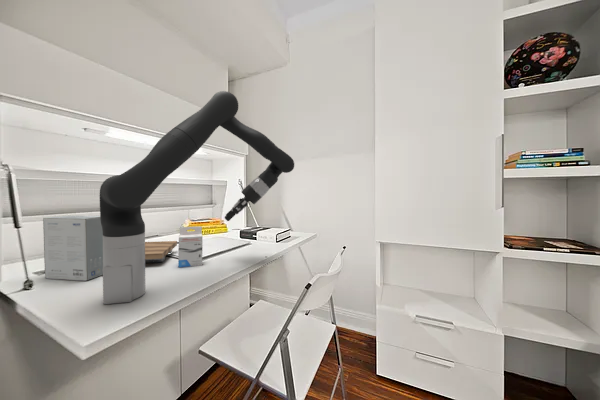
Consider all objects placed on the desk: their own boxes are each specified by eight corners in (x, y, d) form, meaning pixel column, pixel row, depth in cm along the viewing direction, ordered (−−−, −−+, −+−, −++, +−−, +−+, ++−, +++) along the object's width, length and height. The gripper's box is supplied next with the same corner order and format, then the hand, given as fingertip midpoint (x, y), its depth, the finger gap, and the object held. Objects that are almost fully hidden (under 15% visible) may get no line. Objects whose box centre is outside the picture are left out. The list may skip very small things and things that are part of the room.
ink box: (178, 268, 87) (177, 229, 87) (178, 264, 92) (178, 227, 91) (202, 265, 91) (202, 227, 90) (202, 261, 95) (202, 226, 95)
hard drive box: (109, 273, 81) (108, 216, 80) (86, 281, 73) (85, 218, 72) (69, 270, 82) (67, 214, 81) (43, 278, 75) (41, 217, 74)
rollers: (163, 262, 93) (163, 255, 93) (128, 264, 90) (128, 257, 89) (172, 254, 105) (172, 247, 105) (141, 255, 102) (141, 248, 102)
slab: (162, 258, 88) (162, 253, 88) (119, 260, 85) (119, 255, 85) (176, 245, 110) (176, 240, 110) (143, 246, 106) (143, 242, 106)
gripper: (248, 184, 102) (221, 210, 100) (250, 183, 89) (218, 213, 86) (260, 196, 104) (233, 222, 101) (263, 197, 90) (233, 227, 88)
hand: (226, 218), depth 94 cm, fingers open, 8 cm apart
